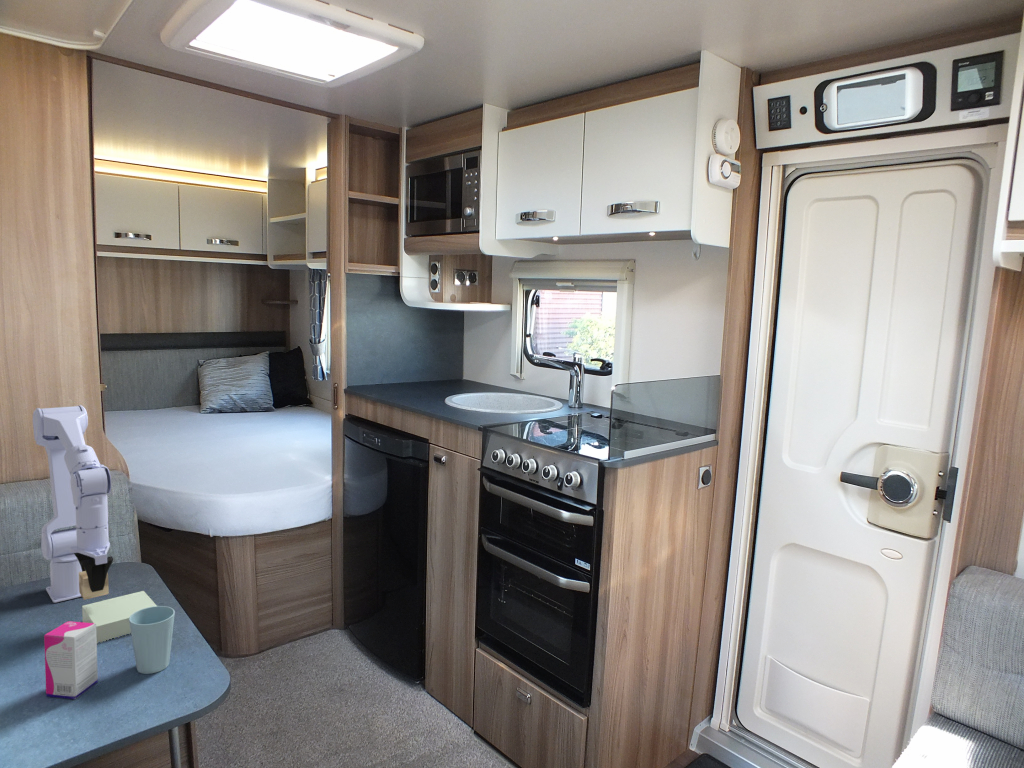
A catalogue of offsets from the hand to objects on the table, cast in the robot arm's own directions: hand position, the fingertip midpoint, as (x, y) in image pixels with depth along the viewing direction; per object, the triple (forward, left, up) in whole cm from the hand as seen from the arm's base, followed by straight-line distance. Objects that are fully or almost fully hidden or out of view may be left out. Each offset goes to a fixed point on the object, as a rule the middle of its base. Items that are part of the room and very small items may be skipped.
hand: (94, 586), depth 141 cm
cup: (+25, +4, -9) cm, 27 cm away
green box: (+3, +4, -9) cm, 10 cm away
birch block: (0, 0, -2) cm, 2 cm away
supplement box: (+24, -9, -9) cm, 27 cm away
